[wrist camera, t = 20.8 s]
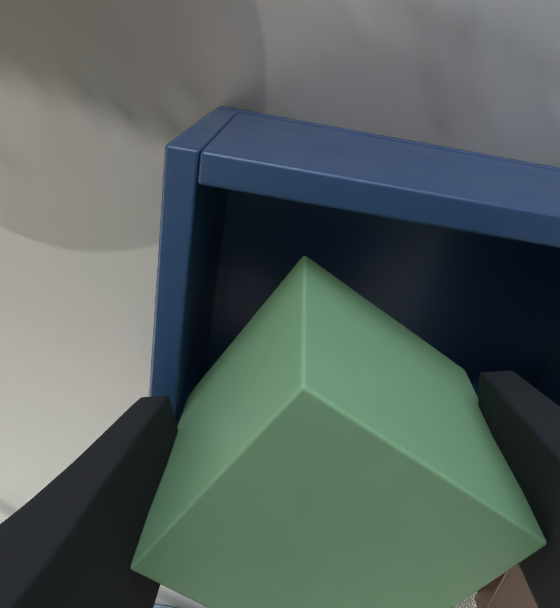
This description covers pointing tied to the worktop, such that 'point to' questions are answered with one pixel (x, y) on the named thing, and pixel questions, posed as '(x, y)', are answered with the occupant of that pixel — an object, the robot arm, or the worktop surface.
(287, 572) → the block
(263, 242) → the tin
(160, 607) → the teal plant pot
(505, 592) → the tin lid
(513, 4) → the worktop surface
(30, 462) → the worktop surface
